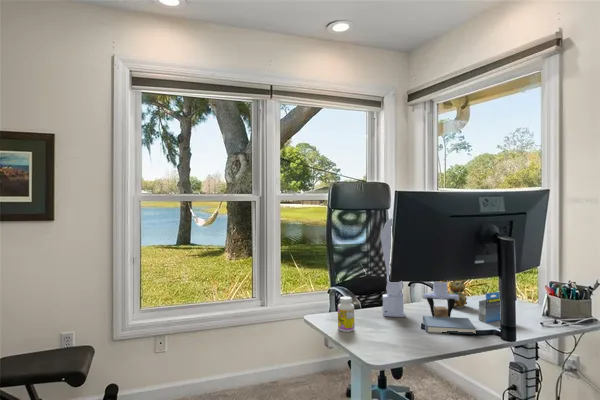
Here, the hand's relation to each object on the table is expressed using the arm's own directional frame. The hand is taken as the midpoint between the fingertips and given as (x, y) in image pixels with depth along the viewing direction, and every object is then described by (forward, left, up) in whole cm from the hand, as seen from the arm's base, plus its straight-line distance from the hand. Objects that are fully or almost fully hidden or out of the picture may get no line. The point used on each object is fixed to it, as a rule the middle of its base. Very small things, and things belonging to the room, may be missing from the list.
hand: (440, 316), depth 159 cm
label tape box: (+20, +2, -2) cm, 20 cm away
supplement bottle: (-39, -20, -2) cm, 44 cm away
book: (+1, -11, -2) cm, 11 cm away
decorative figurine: (+10, +22, -2) cm, 24 cm away
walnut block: (0, 0, -2) cm, 2 cm away
